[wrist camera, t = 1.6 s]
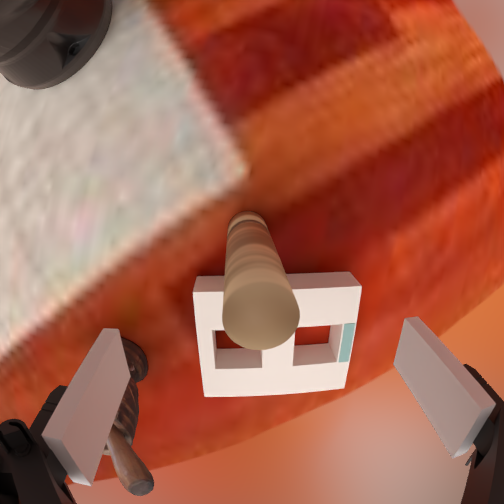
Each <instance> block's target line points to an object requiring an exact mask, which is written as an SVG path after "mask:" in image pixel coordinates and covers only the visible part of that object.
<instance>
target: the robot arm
mask: <svg viewBox="0 0 504 504" xmlns="http://www.w3.org/2000/svg"><path fill="white" fill-rule="evenodd" d="M111 12H112V4H111V0H0V73H1V74H2V75H3V76H4V77H5V78H6V79H7V80H8V81H9V82H11V83H12V84H14V85H17V86H20V87H25V88H30V89H44V88H48V87H51V86H54V85H57V84H59V83H61V82H63V81H64V80H66V79H68V78H69V77H70V76H72V75H73V74H74V73H76V72H77V71H78V70H79V69H80V68H81V67H82V66H83V65H84V64H85V63H86V62H87V61H88V60H89V59H90V58H91V57H92V55H93V54H94V53H95V51H96V50H97V48H98V47H99V45H100V44H101V42H102V40H103V38H104V36H105V34H106V32H107V29H108V26H109V23H110V19H111ZM393 365H394V366H395V368H396V369H397V371H398V372H399V374H400V375H401V377H402V378H403V380H404V381H405V383H406V385H407V386H408V387H409V389H410V391H411V392H412V394H413V395H414V397H415V399H416V400H417V402H418V403H419V405H420V406H421V408H422V410H423V411H424V413H425V414H426V416H427V418H428V419H429V421H430V422H431V424H432V426H433V427H434V429H435V430H436V432H437V434H438V435H439V437H440V439H441V440H442V442H443V444H444V446H445V447H446V449H447V450H448V452H449V454H450V456H451V457H452V458H455V457H457V456H459V455H462V454H464V453H466V452H467V451H468V450H469V448H470V447H471V445H472V443H474V445H475V446H476V449H475V451H474V452H473V454H472V455H471V456H470V458H469V459H468V461H467V463H466V464H465V465H466V466H467V465H468V464H469V463H470V461H471V466H470V470H469V475H468V479H467V483H466V487H465V491H464V495H463V498H462V501H461V504H504V401H503V400H502V399H501V398H500V397H499V396H498V395H497V393H496V392H495V391H494V390H493V389H492V388H491V386H490V385H489V384H487V382H486V381H485V380H484V378H482V376H481V375H480V374H479V373H478V372H477V371H476V370H475V369H474V368H472V367H471V366H469V365H467V364H464V365H462V364H461V363H460V361H459V360H458V359H457V358H456V357H455V356H454V355H453V354H452V353H451V352H450V350H449V349H448V348H447V347H446V346H445V345H444V344H443V343H442V342H441V341H440V339H439V338H438V337H437V336H436V335H435V334H434V333H433V332H432V331H431V330H430V329H429V328H428V327H427V326H426V325H425V324H424V323H423V321H422V320H421V319H420V318H419V317H410V318H405V319H404V324H403V328H402V332H401V336H400V340H399V344H398V348H397V352H396V356H395V360H394V363H393ZM130 377H131V376H130V372H129V369H128V365H127V361H126V357H125V353H124V349H123V345H122V341H121V337H120V332H119V329H108V328H104V329H103V330H102V332H101V333H100V335H99V336H98V338H97V340H96V341H95V343H94V344H93V346H92V348H91V349H90V351H89V352H88V354H87V356H86V357H85V359H84V361H83V362H82V364H81V366H80V367H79V369H78V371H77V372H76V374H75V376H74V377H73V379H72V381H71V382H70V384H69V386H68V387H67V386H61V385H59V386H58V387H57V388H56V389H55V390H53V391H52V392H51V393H50V395H49V396H48V398H47V400H46V401H45V402H46V403H44V405H43V406H42V408H41V410H40V411H39V413H38V415H37V417H36V418H35V420H34V422H33V423H32V425H31V427H30V429H28V428H27V426H26V424H25V423H24V422H23V421H21V420H18V419H10V420H7V421H5V422H2V423H1V424H0V504H77V503H76V502H75V500H74V498H73V496H72V494H71V492H70V490H69V488H68V486H67V484H66V483H65V478H66V475H67V474H68V475H69V477H70V478H71V479H72V481H73V482H76V483H80V484H84V485H89V486H92V484H93V480H94V477H95V474H96V471H97V468H98V465H99V462H100V459H101V456H102V453H103V450H104V447H105V444H106V441H107V439H108V436H109V433H110V430H111V427H112V425H113V422H114V419H115V416H116V414H117V411H118V408H119V405H120V403H121V400H122V397H123V395H124V392H125V390H126V387H127V384H128V382H129V379H130Z"/></svg>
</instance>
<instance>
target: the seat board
mask: <svg viewBox="0 0 504 504" xmlns="http://www.w3.org/2000/svg"><path fill="white" fill-rule="evenodd" d="M286 275H287V278H288V280H289V283H290V286H291V288H292V291H293V293H294V296H295V298H296V301H297V303H298V306H299V310H300V320H299V324H298V327H310V326H325V325H331V326H330V334H329V342H328V343H325V344H312V345H299V346H294V340H295V332H294V334H293V335H292V336H291V337H290V338H289V339H288V340H287V341H286V342H284V343H283V344H281V345H279V346H277V347H275V348H271V349H267V350H251V349H247V348H231V349H217V347H216V334H215V330H225V329H224V327H223V322H222V311H223V294H224V278H225V276H197V278H196V282H195V286H194V289H193V300H194V311H195V321H196V330H197V340H198V349H199V357H200V366H201V374H202V381H203V389H204V396H205V397H234V396H262V395H279V394H292V393H304V392H314V391H324V390H332V389H340V388H344V386H345V381H346V377H347V372H348V367H349V362H350V357H351V351H352V346H353V340H354V334H355V329H356V322H357V316H358V310H359V303H360V296H361V289H362V286H361V284H360V283H359V282H358V281H357V280H356V279H355V277H354V276H353V275H352V274H351V273H350V272H328V273H301V274H286Z"/></svg>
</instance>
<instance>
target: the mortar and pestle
mask: <svg viewBox="0 0 504 504" xmlns="http://www.w3.org/2000/svg"><path fill="white" fill-rule="evenodd" d="M121 341H122V345H123V349H124V353H125V357H126V361H127V365H128V369H129V372H130V376H131V377H130V379H129V382H128V384H127V387H126V390H125V392H124V395H123V397H122V400H121V403H120V405H119V408H118V411H117V414H116V416H115V419H114V422H113V425H112V427H111V430H110V433H109V436H108V439H107V441H106V444H105V447H104V450H103V453H102V454H104V455H111V457H112V461H113V465H114V468H115V470H116V473H117V475H118V477H119V480H120V482H121V483H122V485H123V486H124V488H125V489H126V490H128V491H129V492H130V493H132V494H134V495H137V496H143V495H145V494H148V493H149V492H150V491H152V490H153V487H154V480H153V477H152V475H151V473H150V472H149V470H148V469H147V467H146V466H145V464H144V463H143V462H142V461H141V460H140V458H139V457H138V456H137V455H136V453H135V452H134V451H133V449H132V448H131V446H132V443H133V439H134V435H135V430H136V426H137V422H138V415H139V405H138V388H137V386H136V383H137V382H139V381H141V380H143V379H144V377H145V376H146V374H147V371H148V365H147V359H146V356H145V355H144V353H143V351H142V350H141V348H140V347H138V346H137V345H135V344H134V343H133V342H131V341H129V340H126V339H124V338H121Z"/></svg>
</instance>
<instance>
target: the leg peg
mask: <svg viewBox="0 0 504 504" xmlns="http://www.w3.org/2000/svg"><path fill="white" fill-rule="evenodd" d="M299 320H300V310H299V306H298V303H297V301H296V298H295V296H294V293H293V291H292V288H291V286H290V283H289V280H288V278H287V275H286V273H285V270H284V268H283V265H282V263H281V260H280V258H279V255H278V253H277V250H276V248H275V245H274V243H273V240H272V238H271V235H270V233H269V231H268V228H267V226H266V223H265V221H264V219H263V218H262V217H261V216H260V215H259V214H257V213H255V212H252V211H243V212H240V213H238V214H236V215H235V216H234V217H233V218H232V219H231V220H230V222H229V225H228V234H227V248H226V263H225V278H224V294H223V311H222V322H223V327H224V329H225V332H226V333H227V335H228V336H229V337H230V339H231V340H232V341H234V342H235V343H236V344H238V345H240V346H242V347H244V348H247V349H251V350H267V349H271V348H275V347H277V346H279V345H281V344H283V343H284V342H286V341H287V340H288V339H289V338H290V337H291V336H292V335H293V334H294V332H295V331H296V329H297V327H298V324H299Z"/></svg>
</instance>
